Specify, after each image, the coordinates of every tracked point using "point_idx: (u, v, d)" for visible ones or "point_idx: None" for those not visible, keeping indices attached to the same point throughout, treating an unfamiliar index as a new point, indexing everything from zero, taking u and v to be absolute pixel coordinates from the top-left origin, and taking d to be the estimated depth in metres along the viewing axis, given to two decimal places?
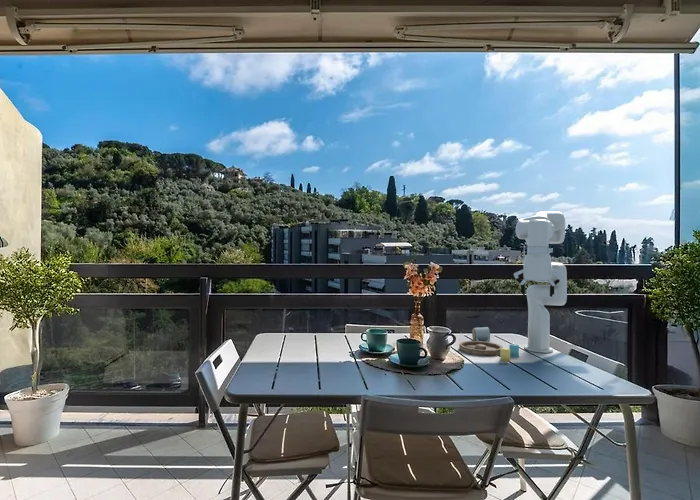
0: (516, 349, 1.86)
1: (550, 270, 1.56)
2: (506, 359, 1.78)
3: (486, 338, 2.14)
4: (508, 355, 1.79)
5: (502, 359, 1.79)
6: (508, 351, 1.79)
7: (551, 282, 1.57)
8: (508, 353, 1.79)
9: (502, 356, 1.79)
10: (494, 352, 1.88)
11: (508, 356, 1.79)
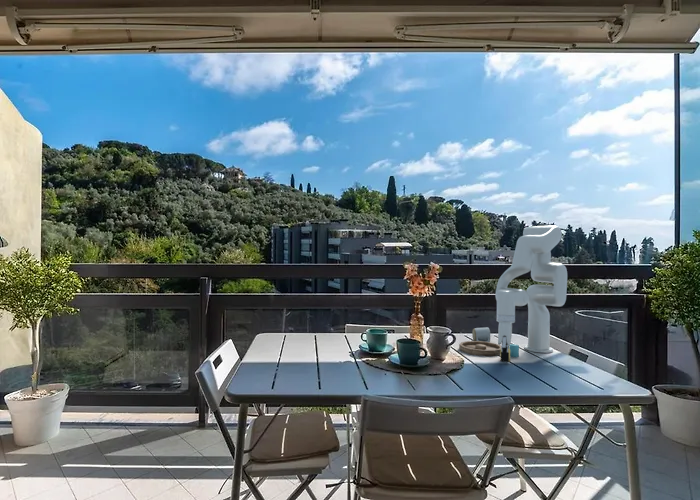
0: (516, 349, 1.86)
1: None
2: None
3: (486, 338, 2.13)
4: None
5: None
6: (508, 351, 1.79)
7: None
8: None
9: None
10: (494, 352, 1.88)
11: None
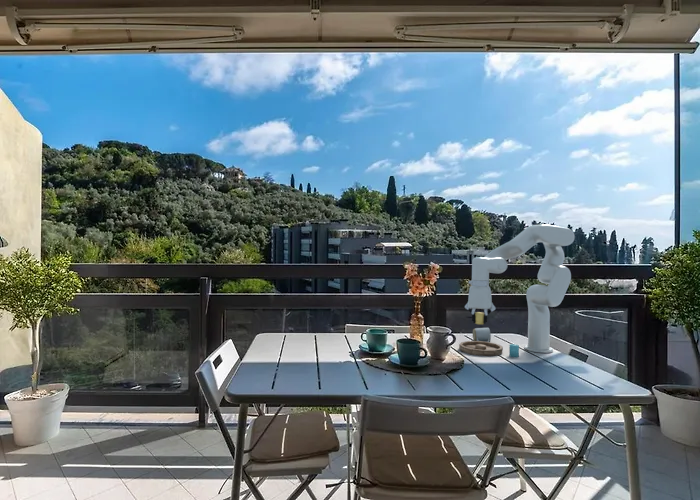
0: (516, 349, 1.86)
1: None
2: None
3: (487, 339, 2.12)
4: None
5: (483, 322, 1.90)
6: None
7: None
8: None
9: (483, 319, 1.90)
10: (494, 352, 1.88)
11: None
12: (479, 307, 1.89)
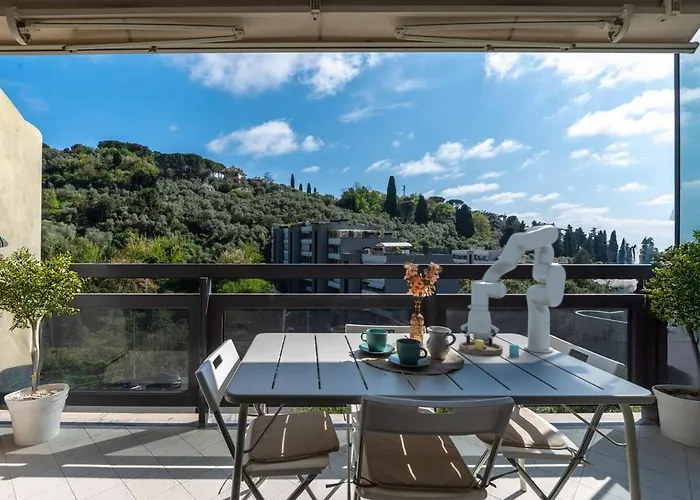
0: (516, 349, 1.86)
1: None
2: None
3: (487, 339, 2.11)
4: None
5: None
6: None
7: None
8: None
9: (482, 347, 1.91)
10: (494, 352, 1.88)
11: None
12: (478, 332, 1.90)
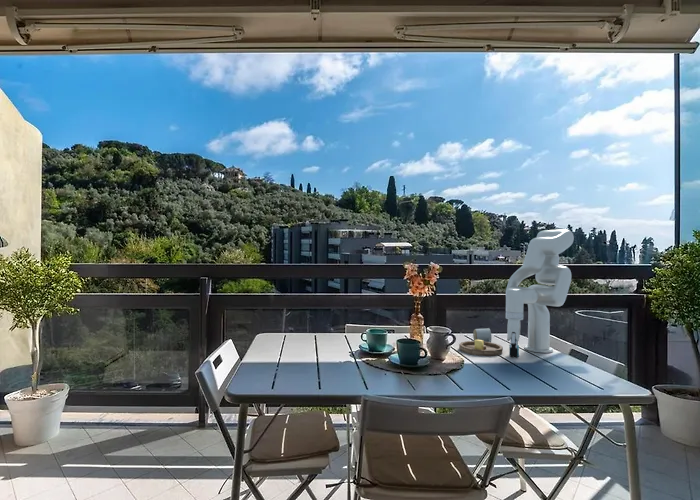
0: None
1: None
2: None
3: (487, 339, 2.10)
4: None
5: None
6: None
7: (517, 342, 1.90)
8: None
9: (482, 347, 1.91)
10: (494, 352, 1.88)
11: None
12: None
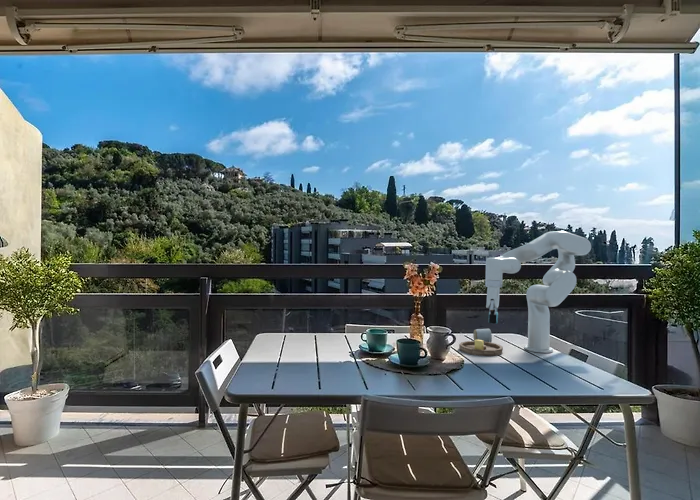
0: None
1: None
2: None
3: (488, 340, 2.10)
4: None
5: None
6: None
7: (496, 310, 1.97)
8: None
9: (482, 347, 1.91)
10: (494, 352, 1.88)
11: None
12: None
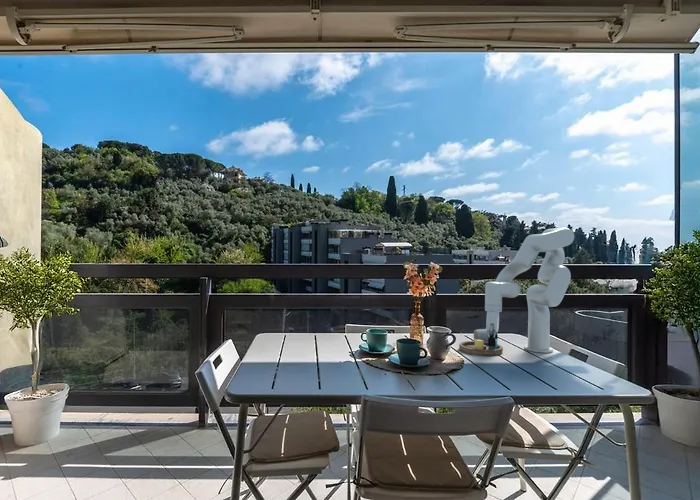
0: None
1: None
2: None
3: None
4: None
5: None
6: None
7: None
8: None
9: (482, 347, 1.91)
10: (494, 352, 1.88)
11: None
12: None
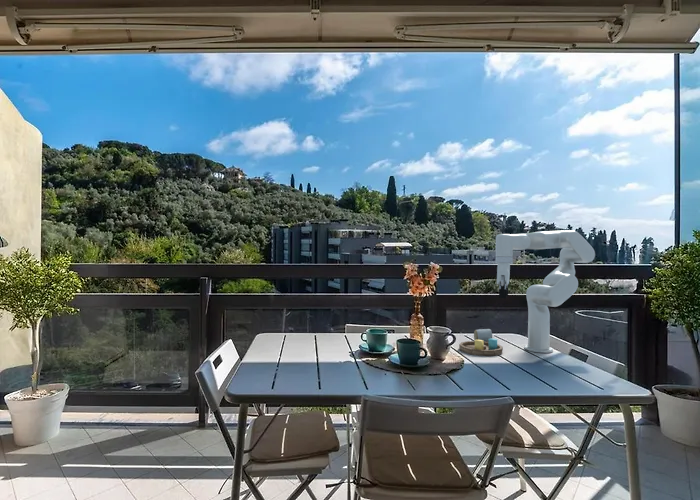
0: (494, 343, 1.93)
1: None
2: None
3: (488, 340, 2.09)
4: None
5: None
6: None
7: (507, 284, 1.97)
8: None
9: (482, 347, 1.91)
10: (494, 352, 1.88)
11: None
12: None
